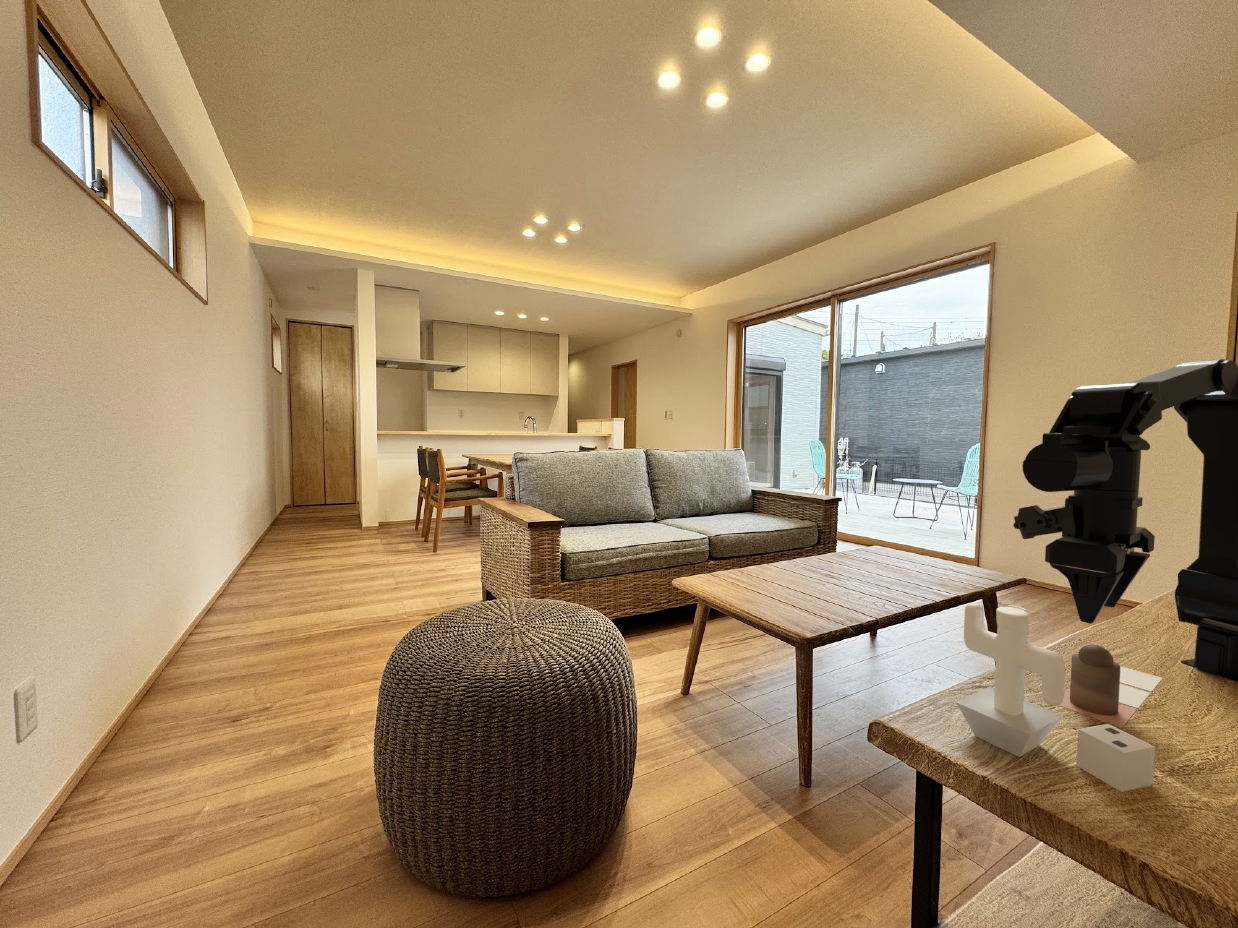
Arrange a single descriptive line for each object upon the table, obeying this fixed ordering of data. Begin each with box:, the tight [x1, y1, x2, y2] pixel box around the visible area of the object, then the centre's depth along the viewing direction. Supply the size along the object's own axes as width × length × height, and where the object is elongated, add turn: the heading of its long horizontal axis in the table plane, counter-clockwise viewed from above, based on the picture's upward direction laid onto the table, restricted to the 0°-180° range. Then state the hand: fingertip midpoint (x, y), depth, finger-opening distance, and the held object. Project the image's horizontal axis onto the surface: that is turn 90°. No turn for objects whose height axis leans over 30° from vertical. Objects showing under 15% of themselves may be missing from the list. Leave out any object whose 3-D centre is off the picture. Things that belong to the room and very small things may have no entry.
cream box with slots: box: [1075, 723, 1156, 792], centre depth 52 cm, size 4×4×4 cm
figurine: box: [955, 602, 1066, 758], centre depth 57 cm, size 7×9×15 cm
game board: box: [1058, 665, 1164, 728], centre depth 68 cm, size 22×8×1 cm, turn 125°
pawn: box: [1069, 644, 1121, 716], centre depth 63 cm, size 4×4×8 cm
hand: (1098, 613), depth 64 cm, fingers open, 9 cm apart
